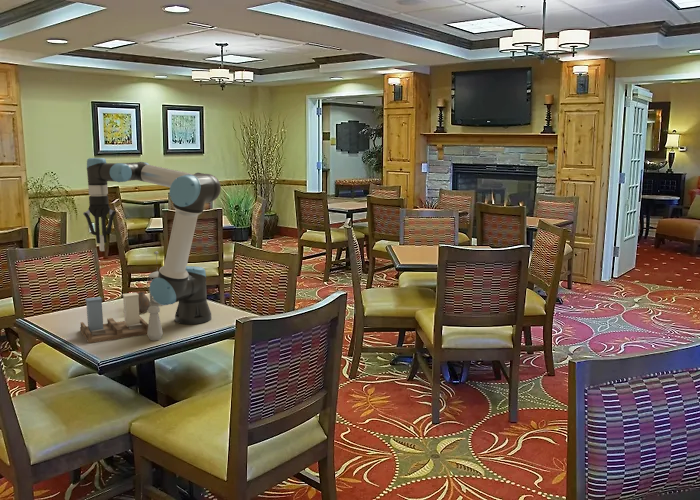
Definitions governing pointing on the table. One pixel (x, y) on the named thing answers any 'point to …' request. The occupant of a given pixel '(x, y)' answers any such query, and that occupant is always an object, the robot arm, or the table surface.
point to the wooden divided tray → (114, 330)
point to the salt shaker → (154, 324)
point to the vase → (143, 302)
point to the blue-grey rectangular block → (94, 313)
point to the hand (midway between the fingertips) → (102, 250)
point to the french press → (154, 275)
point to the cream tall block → (131, 308)
